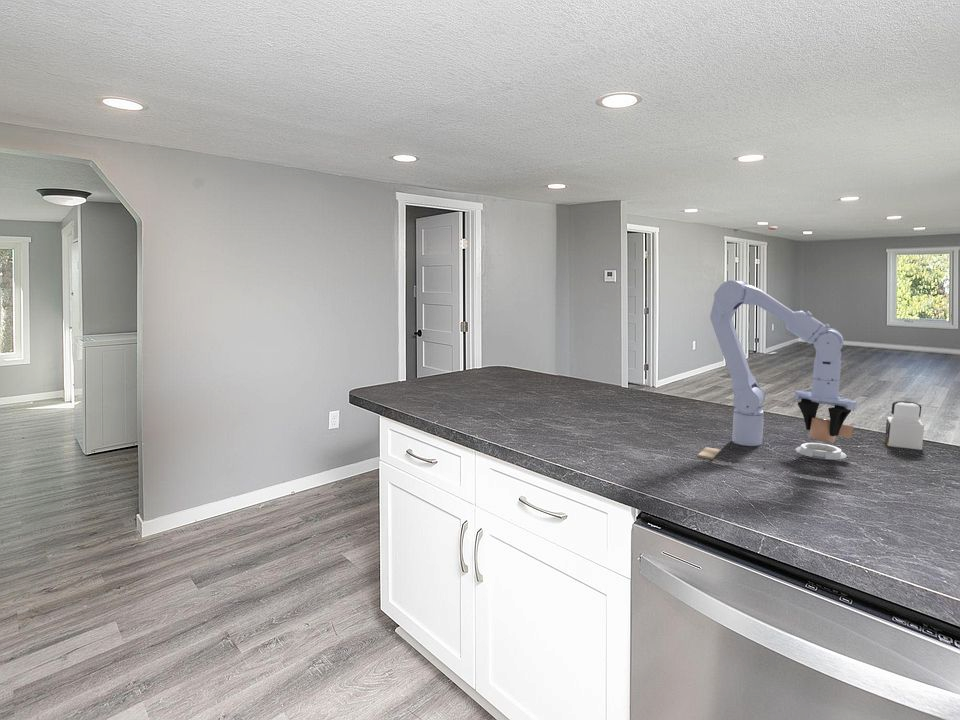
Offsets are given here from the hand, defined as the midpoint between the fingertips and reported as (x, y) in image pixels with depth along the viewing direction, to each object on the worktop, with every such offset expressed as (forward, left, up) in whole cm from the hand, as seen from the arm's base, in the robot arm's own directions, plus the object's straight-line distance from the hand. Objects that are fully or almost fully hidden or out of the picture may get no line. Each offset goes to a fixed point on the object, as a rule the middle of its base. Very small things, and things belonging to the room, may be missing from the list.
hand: (821, 432), depth 141 cm
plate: (0, 0, -6) cm, 6 cm away
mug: (0, +2, -2) cm, 3 cm away
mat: (+14, -21, -6) cm, 26 cm away
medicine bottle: (-20, +17, -6) cm, 27 cm away
